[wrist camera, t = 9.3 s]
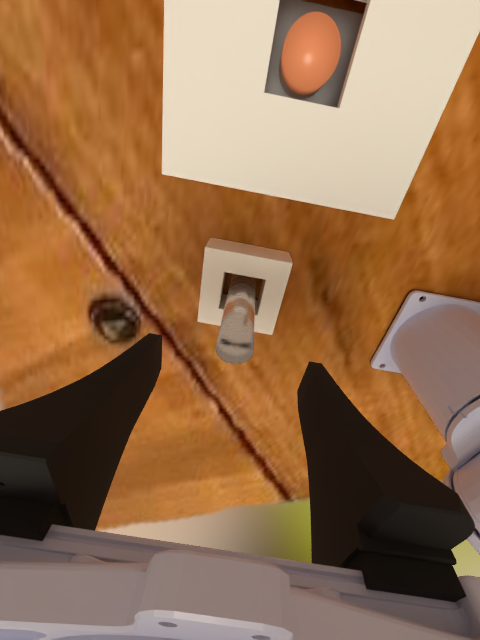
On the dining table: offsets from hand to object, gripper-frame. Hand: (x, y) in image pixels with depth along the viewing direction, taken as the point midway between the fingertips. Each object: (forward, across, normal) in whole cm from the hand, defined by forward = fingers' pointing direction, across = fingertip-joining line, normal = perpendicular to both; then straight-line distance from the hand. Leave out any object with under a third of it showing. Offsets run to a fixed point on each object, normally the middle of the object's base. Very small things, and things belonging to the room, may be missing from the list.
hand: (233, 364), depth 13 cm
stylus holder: (+10, 0, 0) cm, 10 cm away
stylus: (+10, 0, 0) cm, 10 cm away
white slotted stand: (+10, -1, -13) cm, 17 cm away
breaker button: (+10, -1, -13) cm, 16 cm away
